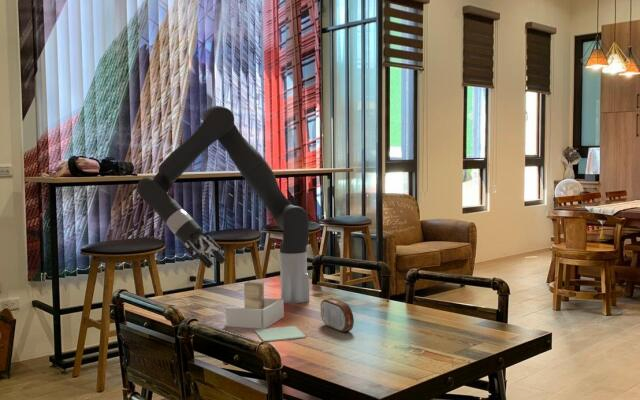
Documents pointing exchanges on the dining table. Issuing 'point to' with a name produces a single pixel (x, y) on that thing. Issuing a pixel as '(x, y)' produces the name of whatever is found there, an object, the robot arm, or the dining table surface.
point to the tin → (337, 314)
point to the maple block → (254, 294)
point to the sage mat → (280, 333)
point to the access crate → (256, 315)
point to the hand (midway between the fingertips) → (217, 264)
